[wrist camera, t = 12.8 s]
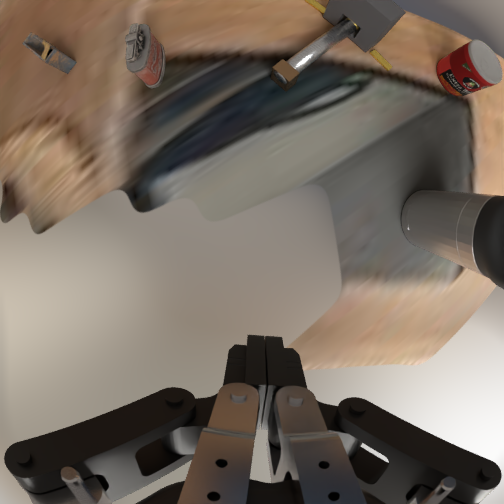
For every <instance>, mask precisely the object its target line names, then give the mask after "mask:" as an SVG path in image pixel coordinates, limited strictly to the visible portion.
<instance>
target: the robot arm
mask: <svg viewBox="0 0 504 504" xmlns="http://www.w3.org/2000/svg"><path fill="white" fill-rule="evenodd" d="M401 223H402V229H403V232H404V234H405V236H406V238H407V239H408V240H409V242H410V243H412V244H413V245H415V246H417V247H419V248H422V249H424V250H427V251H429V252H431V253H433V254H436V255H438V256H441V257H443V258H445V259H448V260H450V261H452V262H454V263H457V264H459V265H461V266H463V267H466V268H468V269H470V270H473V271H475V272H477V273H479V274H481V275H484V276H486V277H488V278H490V279H491V280H492V281H493V282H494V283H495V284H496V285H498V286H499V287H501V288H503V289H504V196H497V195H487V194H475V193H463V192H449V191H434V190H420V191H417V192H415V193H413V194H412V195H411V196H410V197H409V198H408V199H407V201H406V203H405V205H404V207H403V210H402V216H401ZM260 423H261V429H266V430H268V439H267V444H266V446H267V452H268V461H269V467H270V475H271V483H264V482H260V481H256V480H251V479H250V471H251V463H252V456H253V448H254V440H255V435H256V429H260ZM362 443H364V444H366V445H367V446H369V447H371V448H372V449H374V450H376V451H377V452H379V453H381V454H382V455H384V456H385V457H387V459H388V461H389V463H388V462H385V461H384V460H382V459H380V458H378V457H377V456H375V455H374V454H372V453H370V452H368V451H367V450H365V449H364V448H362V447H360V446H361V444H362ZM4 460H5V464H6V467H7V468H8V470H9V471H10V472H11V473H12V474H13V476H14V477H15V478H16V480H17V481H18V482H19V484H20V486H21V487H22V488H23V489H24V490H25V491H26V492H27V493H28V495H29V496H30V499H31V501H32V503H33V504H112V502H113V501H116V500H118V499H120V498H122V497H124V496H127V495H128V494H131V493H133V492H135V491H137V490H139V489H141V488H143V487H145V486H147V485H148V484H150V483H152V482H154V481H156V480H158V479H160V478H161V477H163V476H165V475H167V474H169V473H170V472H172V471H174V470H175V469H177V468H179V467H180V466H182V465H184V464H185V463H187V462H189V461H190V460H192V462H191V465H190V468H189V471H188V474H187V477H186V480H185V481H182V482H178V483H174V484H171V485H169V486H166V487H164V488H162V489H160V490H158V491H157V492H155V493H153V494H152V495H150V496H148V497H147V498H145V499H143V500H141V501H140V502H138V503H136V504H479V503H480V502H481V501H482V500H483V499H484V498H485V497H486V496H487V495H488V494H489V493H490V492H491V491H492V490H493V489H494V488H495V487H496V486H497V485H498V484H499V483H500V480H501V470H500V468H499V467H498V465H497V464H496V463H494V462H493V461H491V460H488V459H486V458H483V457H481V456H479V455H476V454H474V453H472V452H469V451H467V450H464V449H462V448H460V447H458V446H456V445H454V444H451V443H449V442H447V441H445V440H443V439H440V438H438V437H436V436H434V435H432V434H430V433H428V432H426V431H424V430H422V429H420V428H418V427H416V426H414V425H412V424H410V423H408V422H406V421H404V420H402V419H400V418H398V417H397V416H395V415H393V414H391V413H389V412H387V411H385V410H383V409H382V408H380V407H378V406H376V405H374V404H373V403H371V402H369V401H367V400H365V399H362V398H356V397H352V398H347V399H344V400H343V401H341V402H340V403H339V406H333V405H328V404H324V403H321V402H319V401H317V400H316V398H315V396H314V394H313V393H312V392H311V391H310V390H308V389H307V385H306V382H305V377H304V373H303V369H302V364H301V360H300V356H299V354H298V353H297V352H296V351H295V350H294V349H293V348H284V346H283V340H282V337H274V336H265V341H264V336H259V335H248V339H247V345H234V346H233V347H232V348H231V349H230V350H229V353H228V359H227V365H226V371H225V377H224V383H223V387H221V388H220V390H219V392H218V393H217V394H216V395H214V396H211V397H207V398H198V399H195V397H194V395H193V394H192V393H191V392H189V391H187V390H185V389H182V388H175V387H171V388H166V389H163V390H160V391H158V392H156V393H154V394H151V395H149V396H147V397H144V398H142V399H140V400H137V401H135V402H133V403H130V404H128V405H126V406H123V407H120V408H118V409H115V410H113V411H110V412H108V413H105V414H102V415H100V416H97V417H95V418H92V419H89V420H86V421H84V422H81V423H78V424H75V425H73V426H70V427H66V428H63V429H60V430H57V431H54V432H51V433H48V434H45V435H41V436H38V437H34V438H31V439H28V440H24V441H20V442H17V443H14V444H12V445H11V446H10V447H9V448H8V449H7V451H6V453H5V457H4Z"/></svg>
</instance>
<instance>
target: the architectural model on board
mask: <svg viewBox="0 0 504 504" xmlns="http://www.w3.org/2000/svg"><path fill="white" fill-rule="evenodd" d="M23 45H25V46H26V47H27V48H28V49H29V50H31V51H32V52H33V53H34V54H35V55H37V56H38V57H39V58H40V59H41V60H43V61H44V62H45V63H47V64H49V65H51V66H53V67H55V68H57V69H59V70H61V71H63V72H65V73H67V74H68V73H69V72H70V70H71V69H72V68H73V67H74V65H75V64H76V63H77V62H75V61H74V60H72V59H71V58H70V57H68V56H67V55H65V54H64V53H63V52H61V51H60V50H58V49H57V48H56V47H55V46H53V45H52V44H50V43H49V42H47V41H45V39H42V38H40V37H38V36H37V35H35V34H33V33H30V34H29V36H28V37H27V38H26V40H25V41H24V42H23ZM50 49H52V50H53V51H52V52H51V53H50V55H49V56H47V53H48V51H49V50H50Z"/></svg>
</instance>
